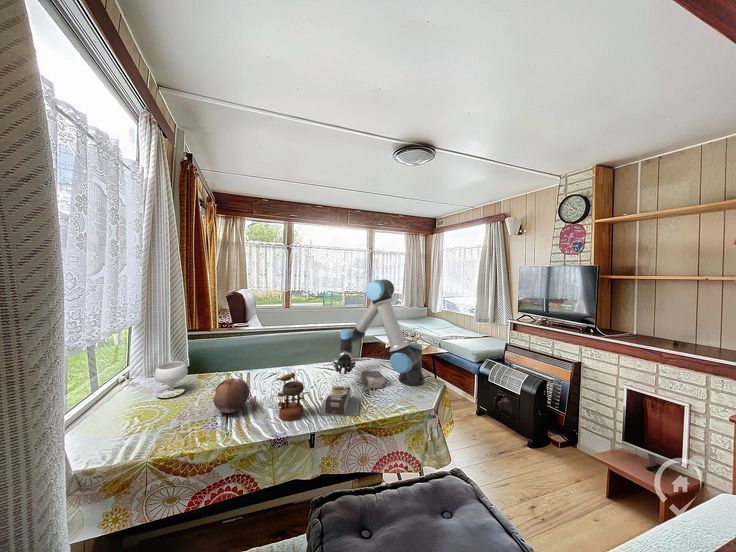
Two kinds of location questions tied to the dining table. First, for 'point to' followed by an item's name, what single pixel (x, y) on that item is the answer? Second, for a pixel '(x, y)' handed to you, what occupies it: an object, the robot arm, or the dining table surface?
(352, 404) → the rubber mat
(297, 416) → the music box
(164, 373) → the chalice
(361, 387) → the dining table surface
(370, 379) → the geological specimen
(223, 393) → the wooden sphere
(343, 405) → the coffee box
